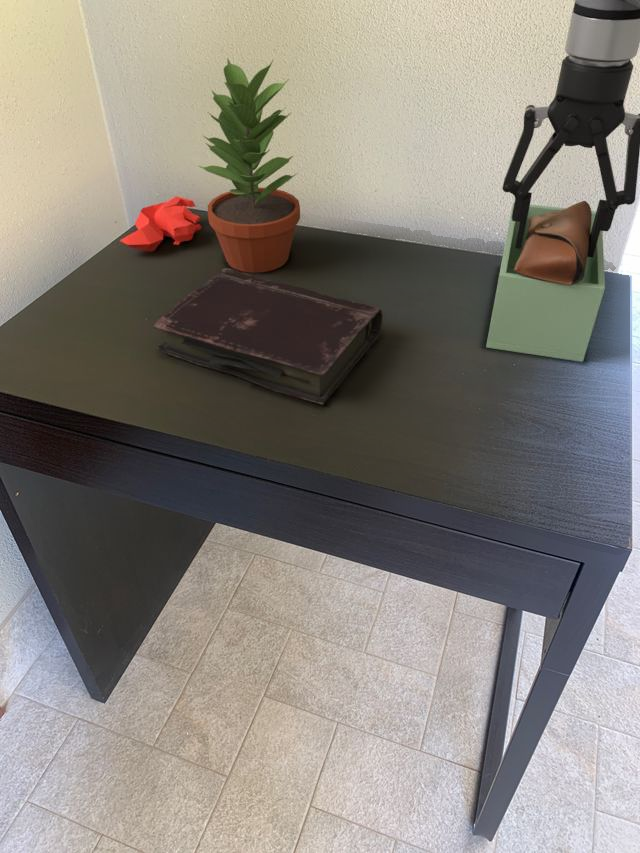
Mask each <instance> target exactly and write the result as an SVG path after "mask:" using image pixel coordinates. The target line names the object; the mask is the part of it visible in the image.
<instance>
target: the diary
mask: <svg viewBox="0 0 640 853" xmlns="http://www.w3.org/2000/svg"><path fill="white" fill-rule="evenodd" d="M382 325H383V312H382V308H381V307H378V306H374V305H369V304H365V303H361V302H356V301H352V300H347V299H343V298H340V297H339V298H338V297H334V296H331V295H328V294H324V293H321V292H317V291H315V290H310V289H307V288H303V287H302V286H301V287H300V286H297V285H292V284H289V283H288V284H287V283H285V282H284V283H283V282H278V281H275V280H270V279H265V278H261V277H258V276H254V275H251V274H248V273H246V272H242V271H239V270H236V269H231V268H227V267H224V268H223V269H221V271H219V272H217V274H215V275H214V276H213V277H212V278H210V279H209V280H207V282H205V283H204V284H202V285H200V286H199V287H198V288H196V289H195V290H193V291H192V292H190V293H189V294H188V295H186V297H185V298H182V300H180V301H179V302H178V303H177V304H175V305H174V306H173V307H172V308H171V309H169V310H168V311H167V312H166V313H165V314H164V315H163V316H161V318H160V319H158V320H157V321H156V323H155V324H154V325H153V326H152V328H153V329H155V330H159V331H161V332H164V335H165V341H166V342H165V343H163V344H161V345H158V346H157V349H158V350H160V351H161V352H163V353H165V354H167V355H170V356H172V357H175V358H178V359H181V360H182V361H186V362H188V363H191V364H194V365H198V366H201V367H204V368H208V369H211V370H214V371H218V372H223V373H226V374H229V375H233V376H236V377H238V378H240V379H242V380H245V381H248V382H251V383H253V384H256V385H258V386H260V387H263V388H266V389H269V390H271V391H273V392H276V393H279V394H283V395H287V396H290V397H293V398H297V399H300V400H305V401H308V402H311V403H312V402H313V403H314V404H319V405H320V406H324V405H325V404H326V402H327V401H328V400H329V399H330V397H331V396H332V395H333V394H334V392H335V391H336V390H337V389H338V387H339V386H340V385H341V383H342V382H344V380H345V379H346V377H347V376H348V375H349V374H350V372H351V371H352V370H353V368H355V366H356V365H357V364H358V363H359V362H360V360H361V359H362V357H364V355H365V354H366V352H367V351H368V350H369V349H370V347H371V346H372V345H373V344H374V343H375V341H376V340H377V339H378V337H379V336H380V334H381V330H382Z"/></svg>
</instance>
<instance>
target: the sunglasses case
mask: <svg viewBox="0 0 640 853" xmlns="http://www.w3.org/2000/svg"><path fill="white" fill-rule="evenodd" d="M565 208H566V209H563V210H559V211H555V212H551V213H547V214H543V215H539V216H536V217H532V218H530V220H529V222H530V223H529V231H528V234H527V238H526V241H525V244H524V247H523V250H522V252H521V255H520V257H519V259H518V261H517V263H516V265H515V268H514V271H516V272H517V273H518V274H520V275H524V276H527V277H530V278H534V279H537V280H541V281H547V282H552V283H558V284H563V285H573V284H576V283H578V282H579V281H581V280H582V279H583V277H584V273H585V268H586V262H587V255H588V247H589V239H590V231H591V221H592V217H591V216H592V214H591V211H592V207H591V206H590V204H589V202H587V201H586V200H581V201H579V202H577V203H575V204H572V205H570V206H568V207H565Z"/></svg>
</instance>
